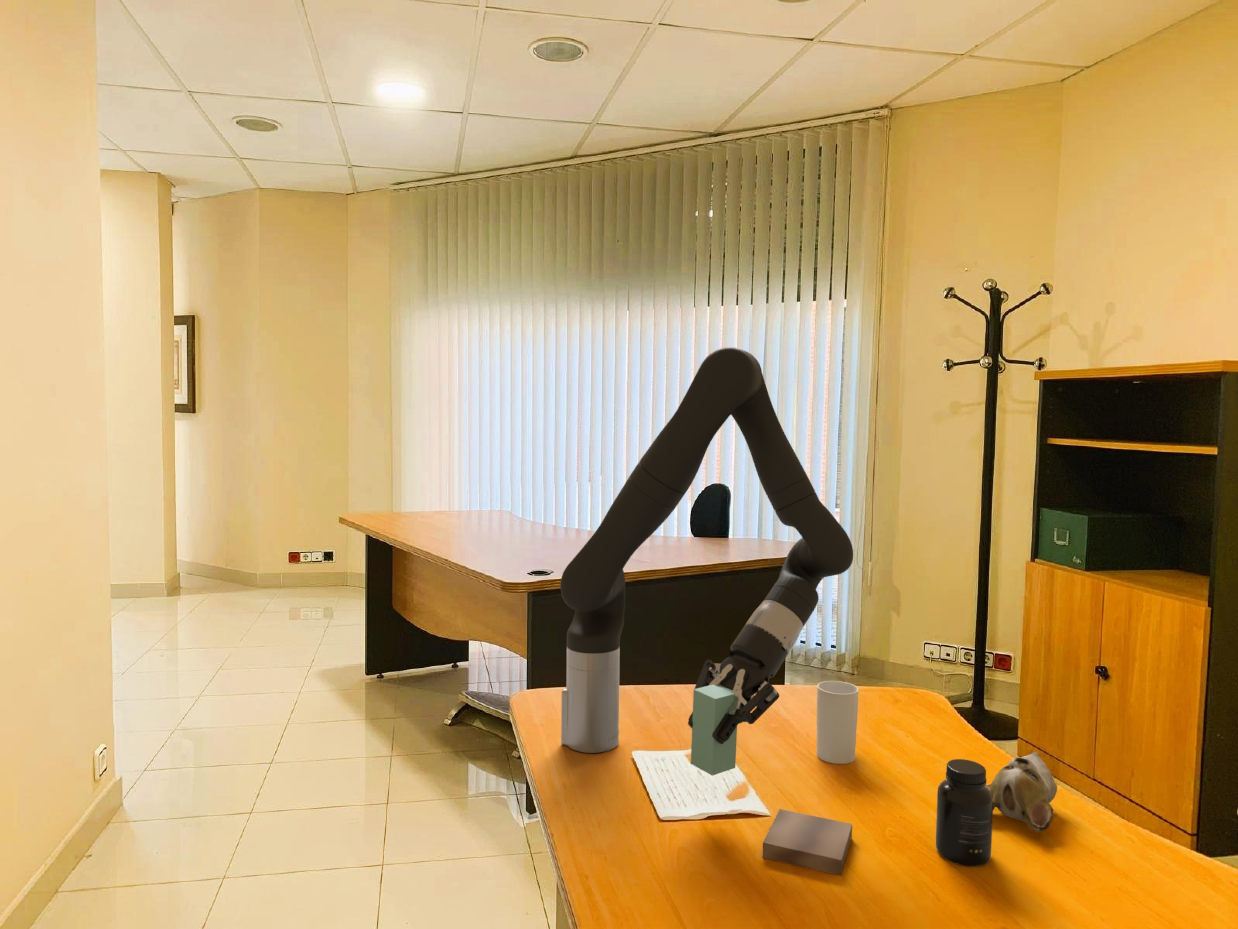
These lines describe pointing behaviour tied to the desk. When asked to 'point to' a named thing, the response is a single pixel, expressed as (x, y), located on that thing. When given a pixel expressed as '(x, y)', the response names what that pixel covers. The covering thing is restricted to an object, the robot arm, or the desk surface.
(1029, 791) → the ceramic sculpture
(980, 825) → the supplement bottle
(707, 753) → the pillar
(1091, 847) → the desk surface
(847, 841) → the base
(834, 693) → the mug
